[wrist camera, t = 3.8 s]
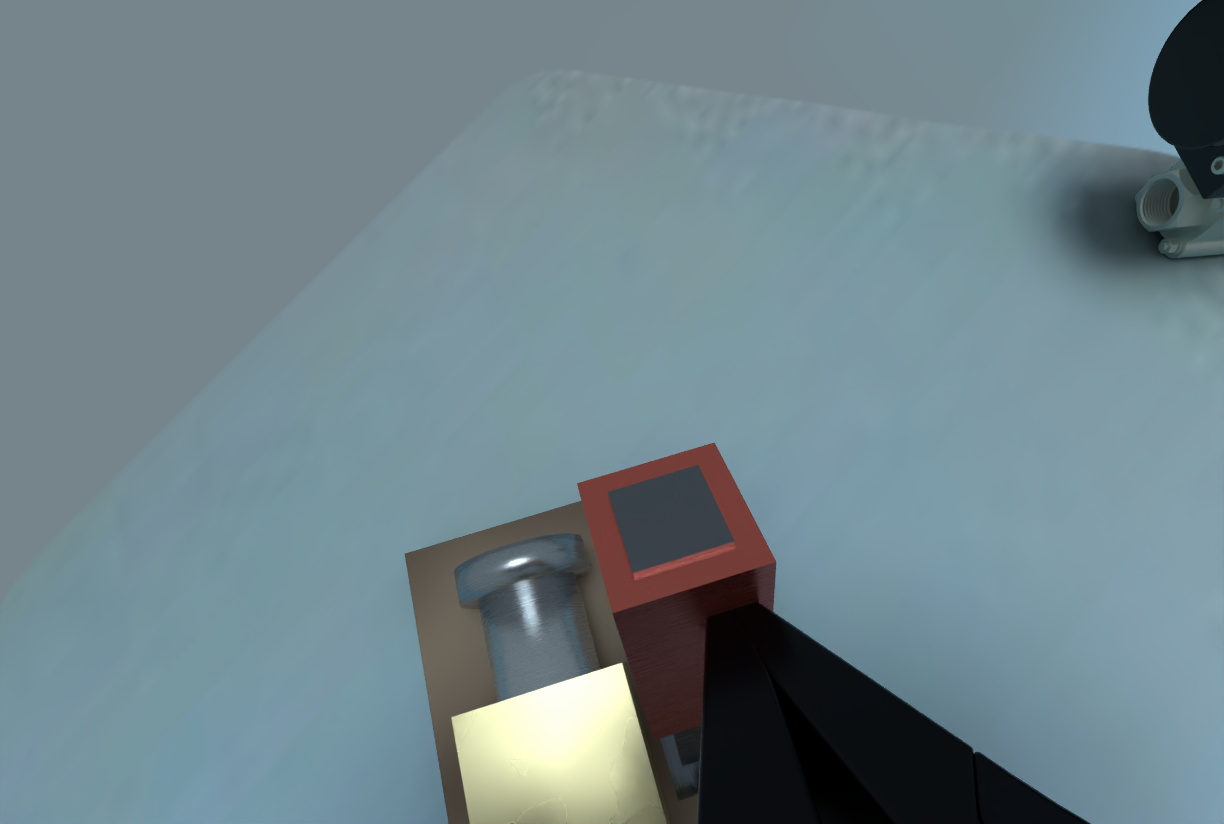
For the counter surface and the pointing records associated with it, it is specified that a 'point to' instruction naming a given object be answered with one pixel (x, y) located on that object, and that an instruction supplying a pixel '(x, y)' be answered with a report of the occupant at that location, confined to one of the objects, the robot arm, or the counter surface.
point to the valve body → (549, 700)
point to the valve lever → (675, 582)
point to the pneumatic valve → (1189, 137)
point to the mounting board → (462, 655)
